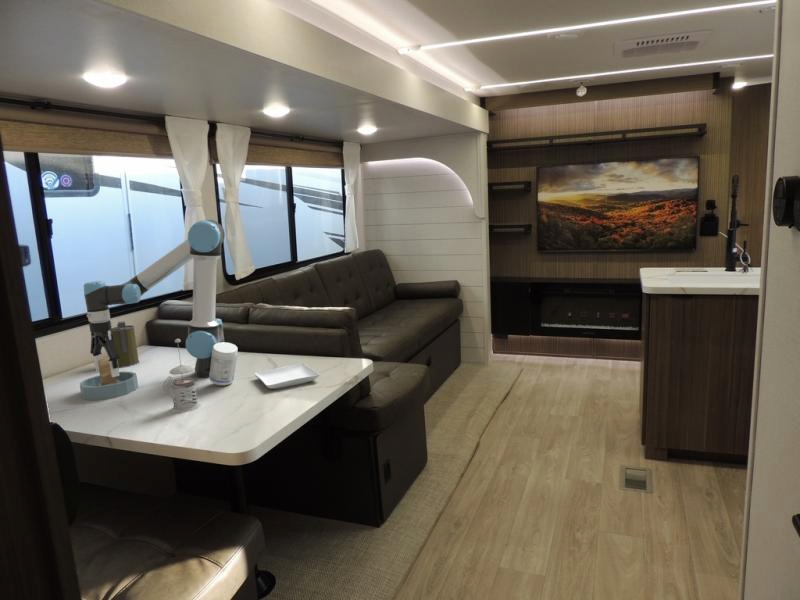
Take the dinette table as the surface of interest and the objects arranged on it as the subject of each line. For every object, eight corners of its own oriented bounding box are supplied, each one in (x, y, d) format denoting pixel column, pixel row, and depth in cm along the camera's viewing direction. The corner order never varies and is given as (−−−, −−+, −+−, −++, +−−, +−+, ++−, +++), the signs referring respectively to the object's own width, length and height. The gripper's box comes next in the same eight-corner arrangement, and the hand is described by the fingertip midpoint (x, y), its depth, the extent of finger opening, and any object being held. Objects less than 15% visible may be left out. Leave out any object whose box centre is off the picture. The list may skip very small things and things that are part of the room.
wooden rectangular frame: (117, 387, 232) (113, 358, 230) (105, 391, 228) (100, 361, 226) (115, 386, 233) (110, 357, 231) (102, 390, 229) (97, 360, 227)
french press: (205, 406, 206) (197, 337, 201) (173, 416, 198) (164, 344, 194) (193, 400, 213) (184, 334, 208) (161, 410, 205) (152, 341, 201)
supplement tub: (218, 372, 236) (222, 339, 232) (238, 380, 234) (243, 347, 229) (203, 380, 228) (207, 347, 223) (223, 389, 225) (228, 355, 221)
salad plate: (254, 380, 235) (253, 371, 234) (304, 370, 244) (303, 362, 244) (267, 393, 216) (266, 385, 216) (321, 382, 226) (320, 374, 225)
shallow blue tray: (147, 388, 232) (145, 376, 231) (95, 403, 217) (93, 390, 216) (123, 380, 245) (122, 369, 244) (73, 394, 229) (71, 382, 229)
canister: (115, 363, 274) (109, 322, 271) (139, 359, 279) (133, 318, 275) (114, 368, 265) (108, 325, 261) (139, 364, 269) (133, 322, 265)
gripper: (76, 320, 231) (84, 371, 235) (104, 325, 215) (112, 381, 219) (95, 316, 237) (103, 367, 240) (124, 321, 221) (132, 375, 224)
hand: (107, 373), depth 229 cm, fingers open, 13 cm apart
